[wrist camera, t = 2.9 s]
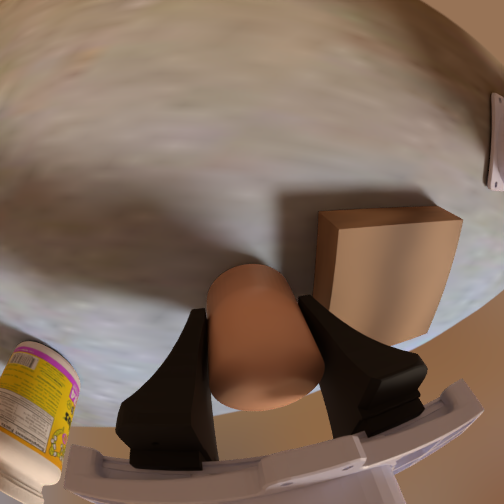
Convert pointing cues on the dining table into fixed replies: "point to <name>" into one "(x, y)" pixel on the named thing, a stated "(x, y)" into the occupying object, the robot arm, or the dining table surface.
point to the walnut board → (385, 267)
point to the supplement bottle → (34, 419)
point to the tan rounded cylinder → (258, 341)
